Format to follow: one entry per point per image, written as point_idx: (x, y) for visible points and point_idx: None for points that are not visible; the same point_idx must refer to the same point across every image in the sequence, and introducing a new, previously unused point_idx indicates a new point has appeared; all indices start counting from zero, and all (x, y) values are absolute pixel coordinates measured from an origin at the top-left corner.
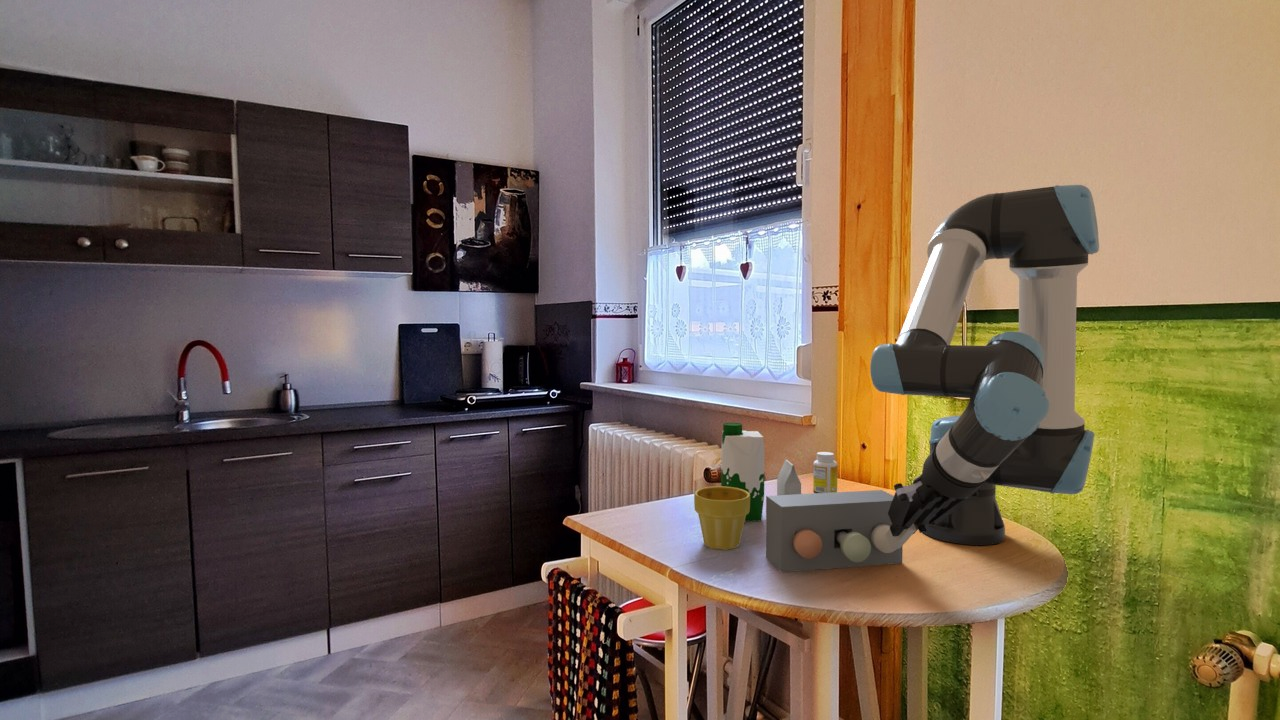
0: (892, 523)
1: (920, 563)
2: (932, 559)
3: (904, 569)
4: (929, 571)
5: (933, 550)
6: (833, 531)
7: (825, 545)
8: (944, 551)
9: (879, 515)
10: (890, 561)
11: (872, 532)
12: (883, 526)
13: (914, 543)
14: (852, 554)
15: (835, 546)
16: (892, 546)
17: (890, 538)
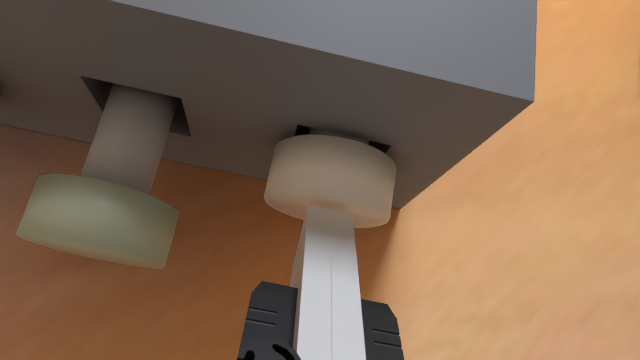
0: None
1: (461, 233)
2: (526, 219)
3: (368, 257)
4: (441, 308)
5: (583, 155)
6: (78, 78)
7: (59, 101)
8: (612, 177)
9: (345, 105)
10: None
11: (281, 145)
12: (325, 167)
13: (562, 82)
14: (70, 251)
15: None
16: (290, 278)
17: (298, 253)
